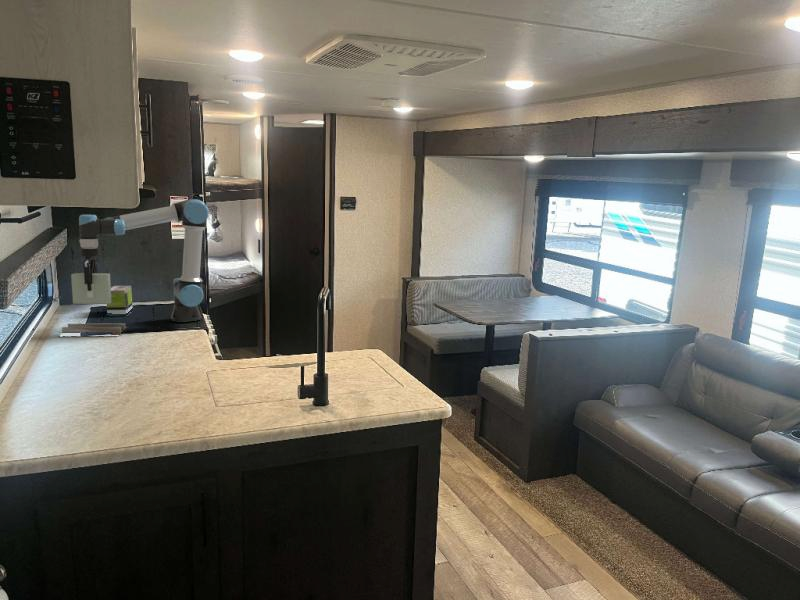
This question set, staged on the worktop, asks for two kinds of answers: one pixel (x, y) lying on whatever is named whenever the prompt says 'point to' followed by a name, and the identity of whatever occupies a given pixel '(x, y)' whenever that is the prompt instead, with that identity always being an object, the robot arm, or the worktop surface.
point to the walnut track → (95, 328)
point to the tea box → (120, 300)
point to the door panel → (99, 287)
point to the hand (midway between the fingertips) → (92, 296)
